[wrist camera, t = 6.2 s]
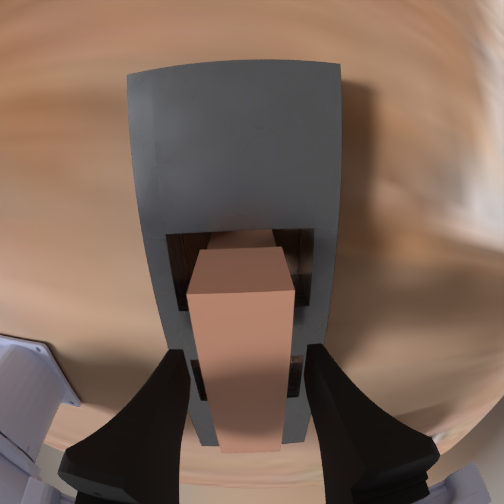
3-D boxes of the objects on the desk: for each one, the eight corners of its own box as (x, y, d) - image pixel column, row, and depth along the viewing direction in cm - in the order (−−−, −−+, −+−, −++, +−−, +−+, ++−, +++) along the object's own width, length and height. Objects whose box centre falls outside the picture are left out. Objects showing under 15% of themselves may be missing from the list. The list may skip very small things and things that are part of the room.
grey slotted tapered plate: (204, 416, 21) (201, 445, 19) (149, 83, 11) (126, 74, 9) (299, 412, 21) (304, 441, 19) (320, 75, 11) (340, 64, 9)
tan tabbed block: (225, 361, 18) (221, 453, 12) (210, 216, 14) (186, 294, 8) (270, 360, 18) (280, 450, 12) (271, 214, 14) (294, 290, 8)
